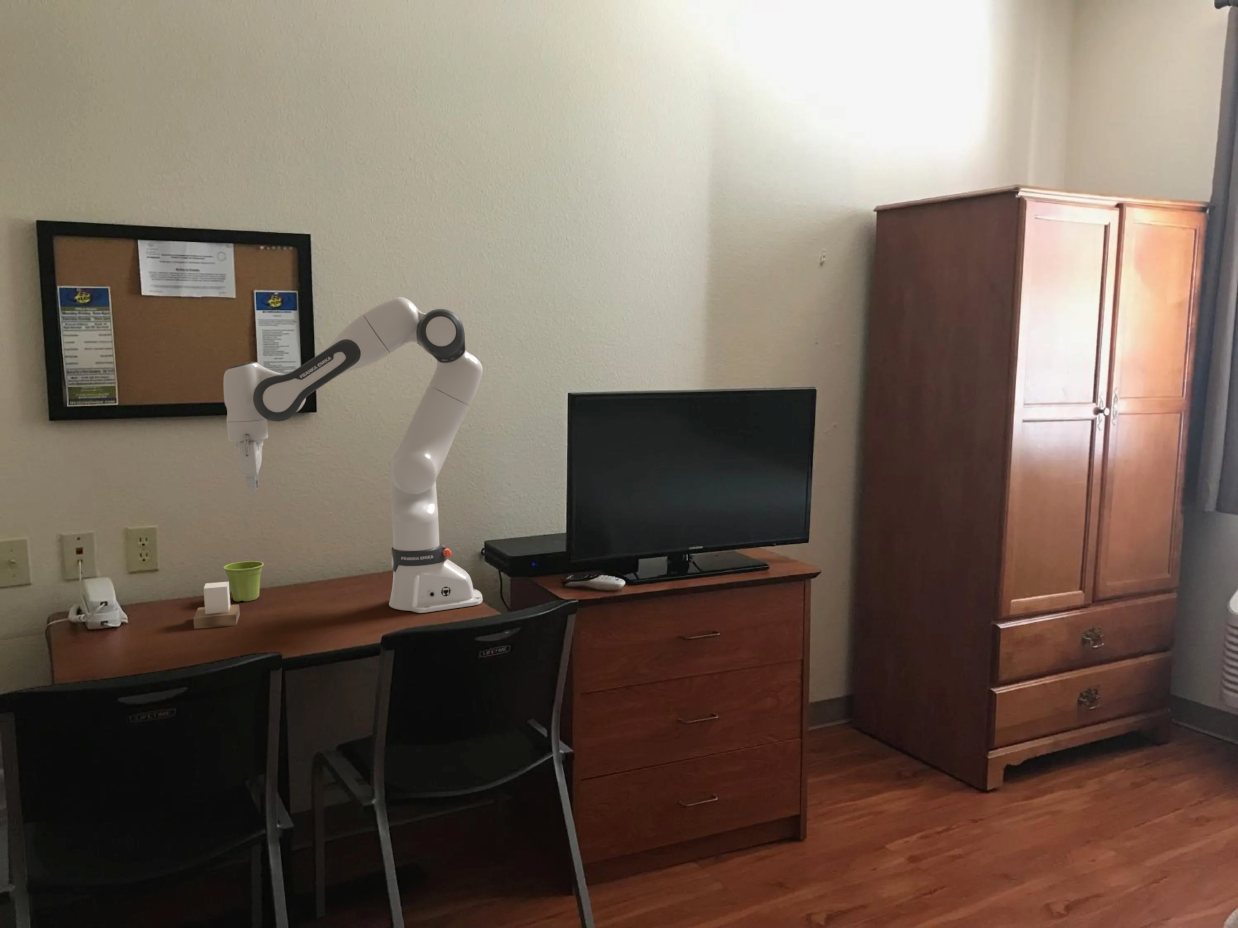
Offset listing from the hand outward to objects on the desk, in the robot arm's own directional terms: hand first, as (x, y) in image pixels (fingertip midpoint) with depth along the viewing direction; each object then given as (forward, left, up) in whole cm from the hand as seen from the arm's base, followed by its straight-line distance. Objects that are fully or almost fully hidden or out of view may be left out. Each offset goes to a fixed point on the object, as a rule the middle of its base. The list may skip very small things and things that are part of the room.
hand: (253, 490), depth 239 cm
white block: (+9, +5, -27) cm, 29 cm away
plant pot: (+4, -14, -30) cm, 33 cm away
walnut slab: (+9, +5, -30) cm, 32 cm away
